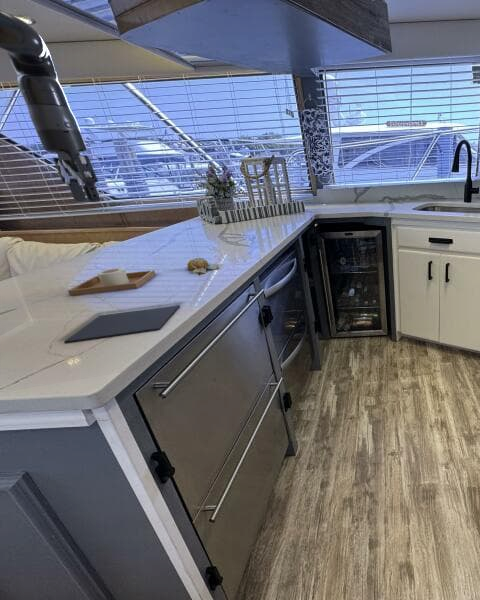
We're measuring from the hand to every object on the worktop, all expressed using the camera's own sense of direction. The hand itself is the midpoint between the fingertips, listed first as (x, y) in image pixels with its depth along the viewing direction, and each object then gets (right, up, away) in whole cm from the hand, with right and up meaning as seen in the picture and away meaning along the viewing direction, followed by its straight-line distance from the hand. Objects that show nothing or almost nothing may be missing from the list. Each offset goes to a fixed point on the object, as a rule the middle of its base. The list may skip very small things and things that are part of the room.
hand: (88, 201), depth 81 cm
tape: (-1, -21, +9) cm, 23 cm away
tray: (-1, -21, +10) cm, 23 cm away
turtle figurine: (+16, -16, +20) cm, 31 cm away
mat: (+21, -30, -13) cm, 39 cm away
